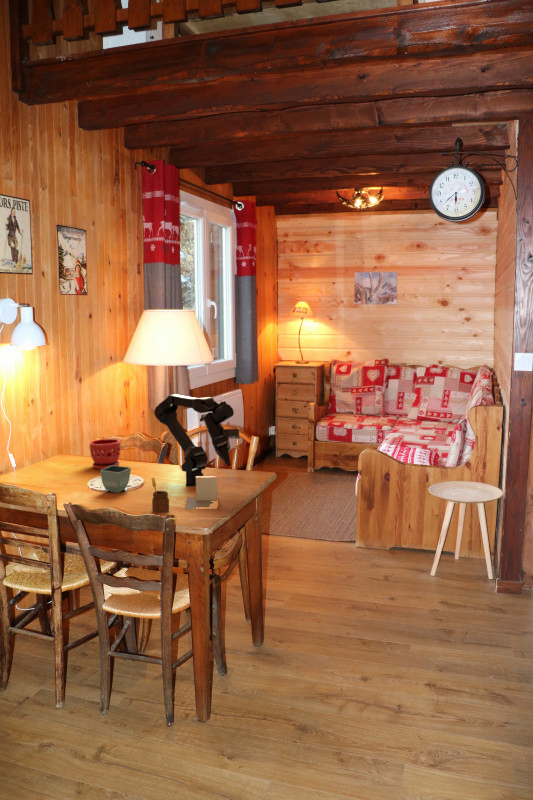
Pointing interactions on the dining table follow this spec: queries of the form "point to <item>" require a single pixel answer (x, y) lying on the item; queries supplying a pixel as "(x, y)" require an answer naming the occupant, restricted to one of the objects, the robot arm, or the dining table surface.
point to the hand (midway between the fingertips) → (229, 464)
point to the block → (206, 488)
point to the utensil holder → (160, 500)
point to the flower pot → (115, 478)
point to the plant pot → (105, 453)
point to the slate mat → (196, 503)
